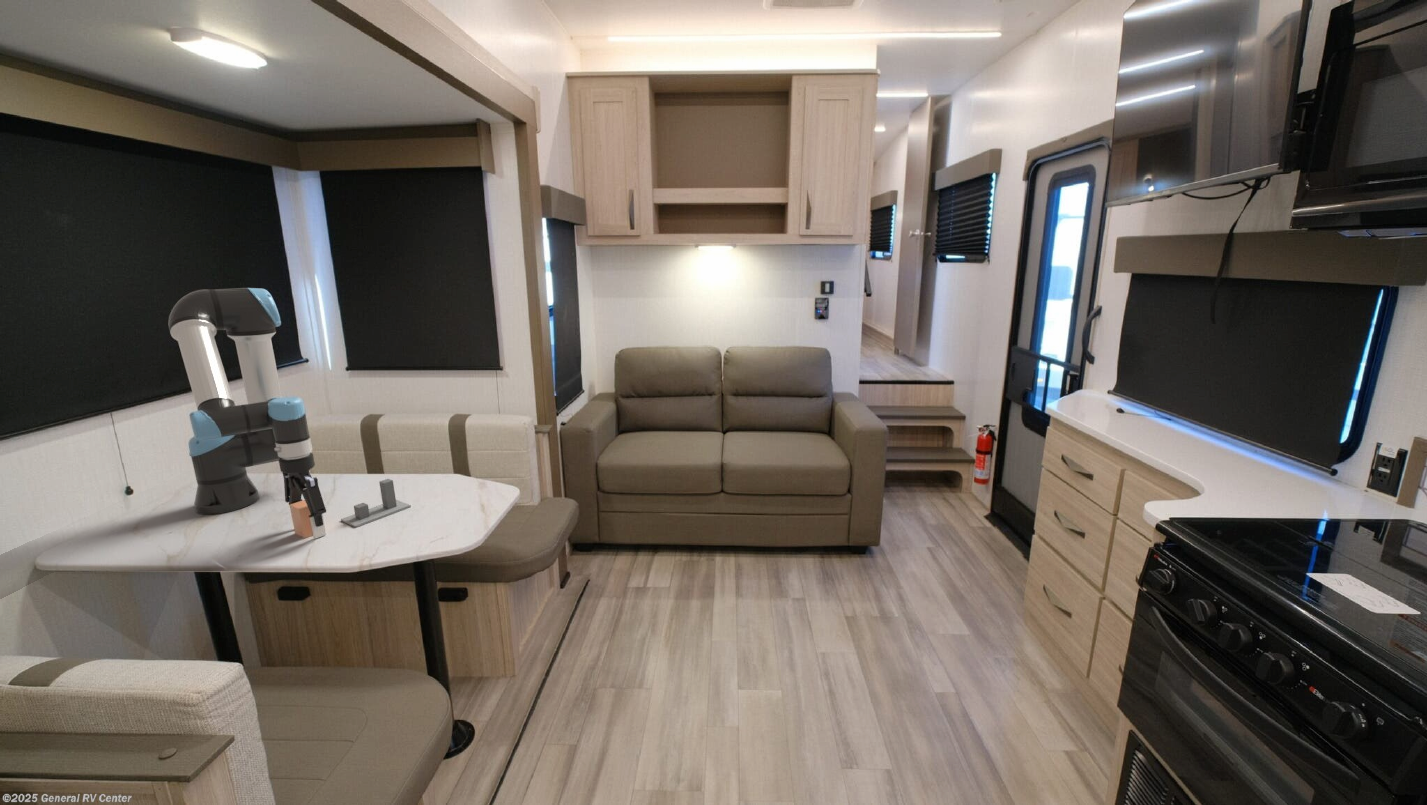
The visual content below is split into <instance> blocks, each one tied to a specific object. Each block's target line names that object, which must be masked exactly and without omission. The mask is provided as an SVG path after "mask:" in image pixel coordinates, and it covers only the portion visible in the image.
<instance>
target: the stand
mask: <svg viewBox="0 0 1427 805" xmlns="http://www.w3.org/2000/svg"><path fill="white" fill-rule="evenodd" d="M378 482H379V489H380V495H381V500H382V501H381V502H382V503H381V504H379V505H376V506H373V507H370V508H369V504H368V503H365V502H361V503H358V504H355V505H353V512H354V514H351V515H347V516H345V517H343V518H340V521H341V522H342V523H344V524H346V525H349V526H352V527H354V528H359V527H361V526H364V525H367V524H369V523H372V522H375V521H377V520H381V519H382V518H386V517H388V516H391V515H394V514H396V513H399V512H401V511H404V510H406V509H409V508H411V506H412V505H411V504H409V503H406V502H403V501H400V500H399V499H397V498H396V492H395V485H394V480H393V479H390V478H387V479H383V480H380V481H378Z"/></svg>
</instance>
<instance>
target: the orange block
mask: <svg viewBox="0 0 1427 805" xmlns="http://www.w3.org/2000/svg"><path fill="white" fill-rule="evenodd" d="M302 500H303V501H300V502H296V503H293V504H290V505H289V508H290V514H291V520H292V524H293V529H294V534H295V535H298V536H299V537H301V538H303V539H307V538H309V537H312V536H313V531H312V526H311V521H310V518H309V517H308V516H309V515H311V513H310V511H309V508H308V506H307V504H306V501H305V499H302ZM323 521H324V519H323ZM324 522H325V521H324Z"/></svg>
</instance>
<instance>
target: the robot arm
mask: <svg viewBox="0 0 1427 805" xmlns="http://www.w3.org/2000/svg"><path fill="white" fill-rule="evenodd" d="M170 311H171V312H170V313H169V316H168V322H167V323H168V330H169V333H170V335H171V337H172V338H173V339H174V341H175V340H176V341H177V343H178V346H179V349H180V353H181V358H182V360H183V364H184V368H185V371H186V374H187V379H188V381H189V385H190V388H191V392H192V395H193V398H194V402H195V406H196V409H197V410H195V411H191V412H190V413H189V420H190V424H191V425H190V426H191V429H192V432H193V436H192V437H191V438H190V439H189V441H188V449H189V450H188V451H189V452H188V453H189V457H191V462H192V466H193V470H194V471H193V472H194V476H195V479H196V482H197V483H196V484H197V489H196V493H195V498H194V503H193V506H194V509H195V512H196V513H198V514H201V515H216V514H217V515H218V514H225V513H228V512H233V511H237V510H240V509H243V508H246V507H249V506H250V505H252V504H254V503H256V502H257V501H259V500H260V494H259V493H260V492H259V490H258V489H257V487H256V485H255V484H254V483H253V482H252V479H251V478H249V476H248V473H247V472H248V471H247V468H249V467H254V466H255V467H256V466H261V465H264V464H265V465H266V464H269V463H274V462H278V464H279V470H280V472H281V473H282V476H283V483H284V484H283V485H284V488H283V489H284V501H285V503H288V506H290V504H293V503H296V502H300V501H303V500H305V501H306V504H307V506H308V508H309V511H310V513H311V515H309V516H308V517H309V518H310V521H311V526H312V531H313V535H312V536H313V539H319V538H320V537H323V536H326V535H327V532H326V526H325V521H323V520H324V515H323V514H325V513H327V509H326V506H325V503H324V500H323V497H322V493H321V491H320V490H321V489H320V487H319V481H318V478H317V476H316V477H312V475H311V473H310V470H311V469H313V468H314V467H315V465H316V464H315V463H316V462H315V459H314V458H315V457H314V453H312V452H313V445H312V440H311V436H310V433H309V425H308V419H307V414H306V412H307V409H306V407H305V404H304V401H303V399H302V398H301V397H300V396H299V397H298V396H285V397H283V395H282V390H281V385H280V379H279V373H278V369H277V363H276V358H275V353H274V352H275V351H274V349H273V348H274V347H273V343H272V338H273V337H274V335H275V334H276V333H277V330H276V328H277V327H280V326H281V325H282V321H281V316H280V313H279V309H278V307H277V305H276V302H275V300H274V298H273V296H272V294H271V293H270V292H269V291H268V290H267V289H265V288H258V287H257V288H256V287H240V288H239V287H238V288H237V287H236V288H218V289H217V288H215V289H208V288H207V289H198V290H194V291H191V292H189V293H188V294H186V295H184V296H183V297H181V298H180V299H179V300H177V302H176V303H175V304H174V306H173V308H172V309H171V310H170ZM218 331H225V333H226V336H227V337H228V338H229V339H231V340H233V341H234V342H235V347H236V353H237V357H238V362H239V366H240V367H239V368H240V371H241V377H242V381H243V386H244V391H245V395H246V404H237V405H236V404H235V400H234V397H233V394H232V391H231V387H230V384H229V382H228V378H227V375H226V372H225V367H224V365H223V362H222V359H221V355H220V352H219V348H218V346H217V342H216V339H215V336H216V335H217V333H218ZM302 496H303V499H302Z"/></svg>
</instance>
